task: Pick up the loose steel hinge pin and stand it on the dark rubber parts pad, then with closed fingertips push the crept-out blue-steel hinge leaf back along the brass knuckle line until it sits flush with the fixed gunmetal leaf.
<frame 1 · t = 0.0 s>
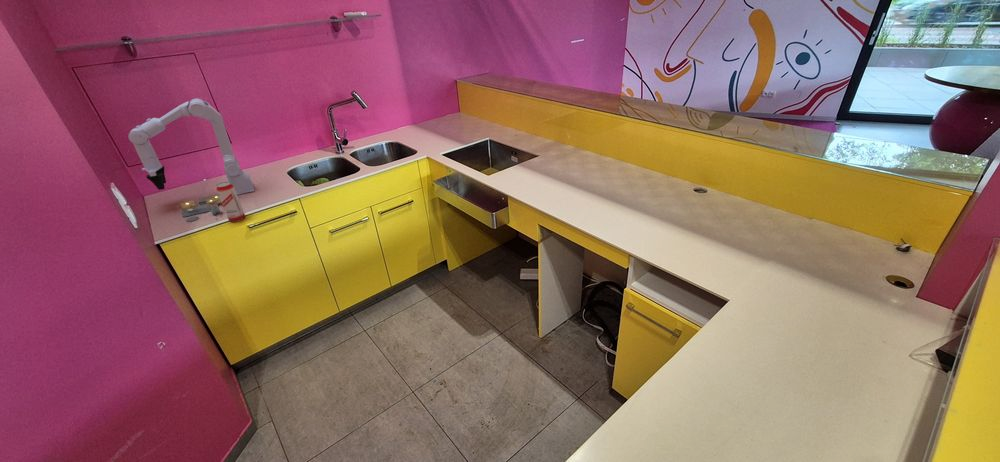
hand: (162, 186, 185), 10 cm above the countertop, tool pointing down, fingers open, 7 cm apart
hinge pin: (216, 213, 182), on the countertop
parts pad: (192, 219, 178), on the countertop
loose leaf: (195, 206, 184), point 2 cm above the countertop, slide at 6.0 cm
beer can: (237, 219, 177), on the countertop
fixed leaf: (212, 205, 189), on the countertop
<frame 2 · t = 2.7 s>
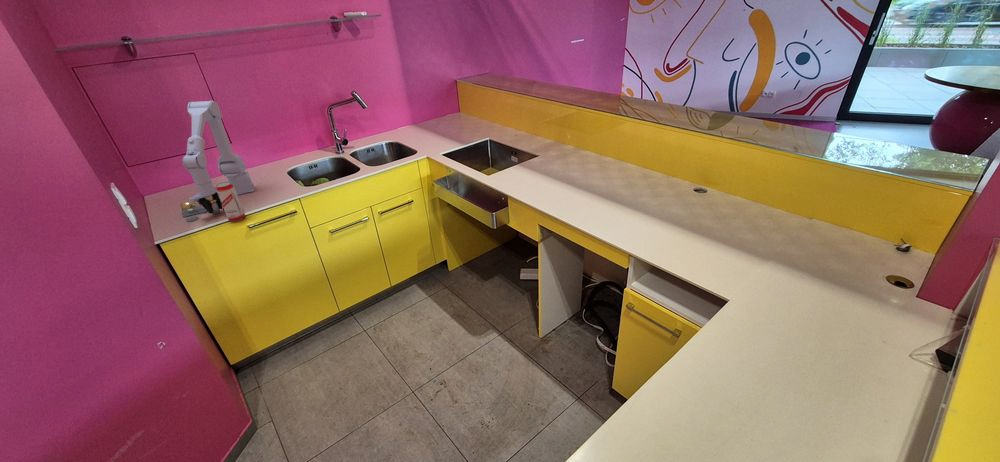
hand: (215, 210, 181), 1 cm above the countertop, tool pointing down, fingers closed on hinge pin, 4 cm apart
hinge pin: (216, 213, 182), on the countertop, touching gripper
everything else where it was.
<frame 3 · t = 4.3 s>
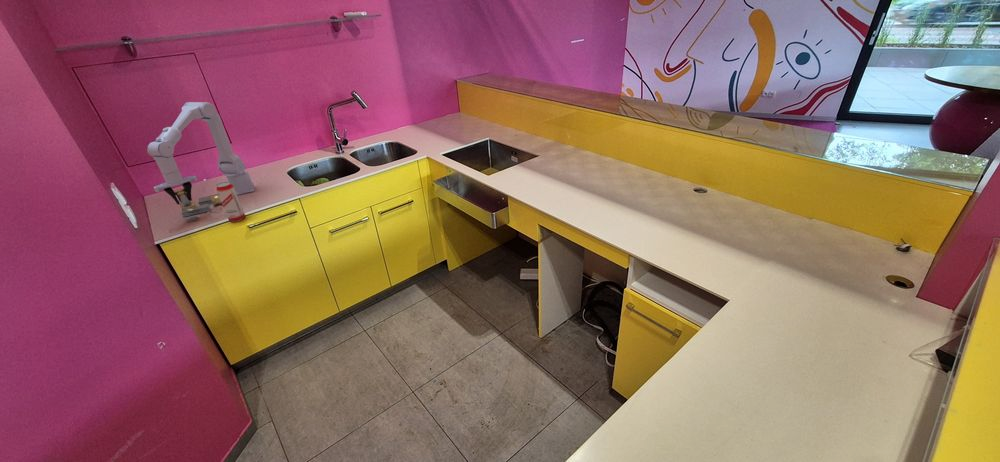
hand: (184, 201, 174), 8 cm above the countertop, tool pointing down, fingers closed on hinge pin, 4 cm apart
hinge pin: (187, 205, 175), point 7 cm above the countertop, touching gripper
everything else where it was.
when the fingers open (3 cm above the countertop, at t = 5.8 s): hinge pin stays where it is, resting on parts pad.
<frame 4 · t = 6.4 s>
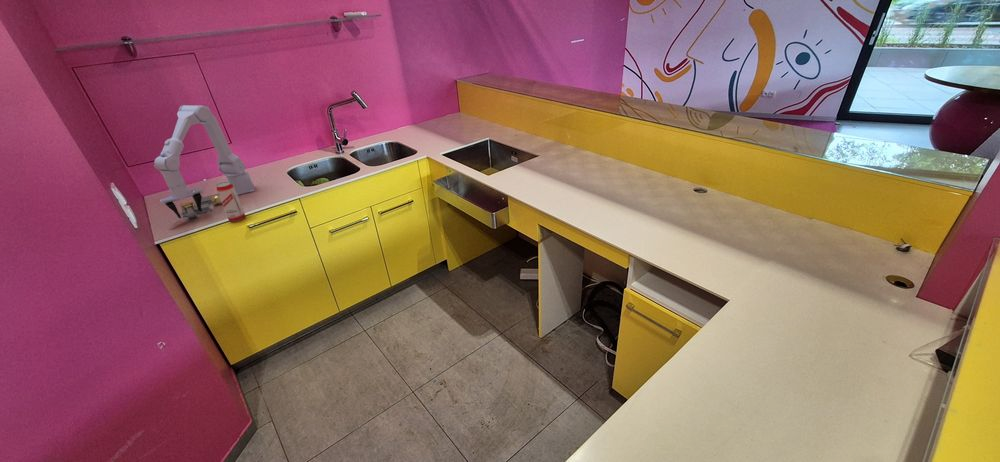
hand: (190, 214, 177), 3 cm above the countertop, tool pointing down, fingers open, 7 cm apart
hinge pin: (193, 218, 178), resting on parts pad
everything else where it was.
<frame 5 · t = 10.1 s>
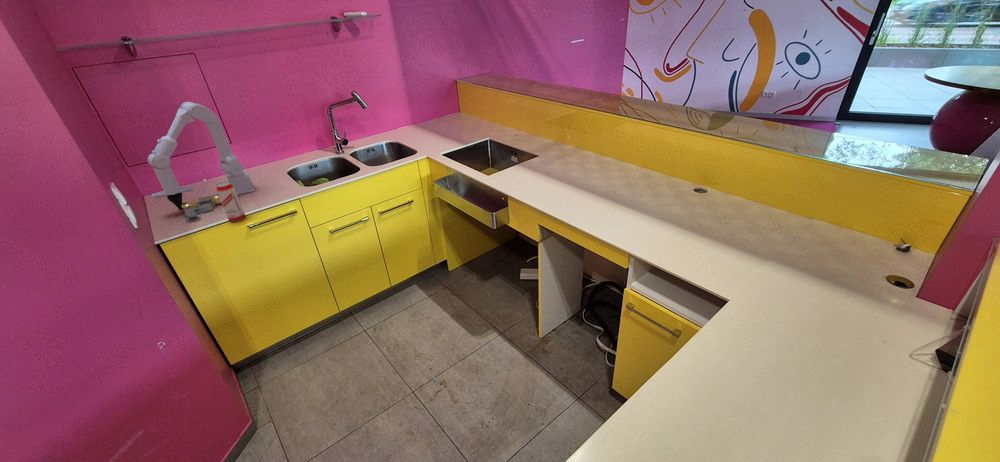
hand: (181, 209, 184), 1 cm above the countertop, tool pointing down, fingers closed
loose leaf: (197, 205, 185), point 2 cm above the countertop, slide at 5.0 cm, touching gripper
everything else where it was.
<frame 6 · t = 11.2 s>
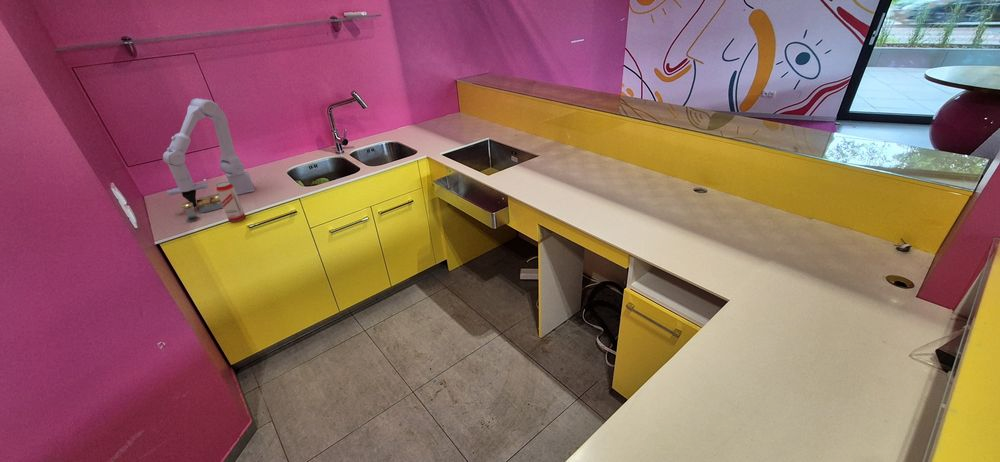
hand: (195, 206, 186), 1 cm above the countertop, tool pointing down, fingers closed
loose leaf: (211, 202, 187), point 2 cm above the countertop, slide at -0.1 cm, touching gripper
everything else where it was.
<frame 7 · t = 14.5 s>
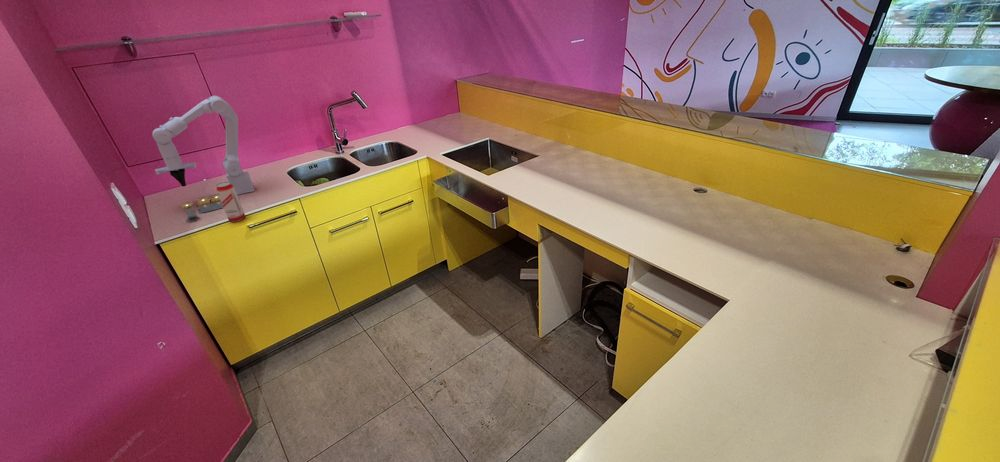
hand: (184, 185, 187), 9 cm above the countertop, tool pointing down, fingers closed
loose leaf: (211, 202, 187), point 2 cm above the countertop, slide at 0.0 cm
everything else where it was.
at the end: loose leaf slide at 0.0 cm; hinge pin 0.4 cm off-centre on the parts pad, point 0.4 cm above the parts pad's base; hinge pin tilted 0° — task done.
